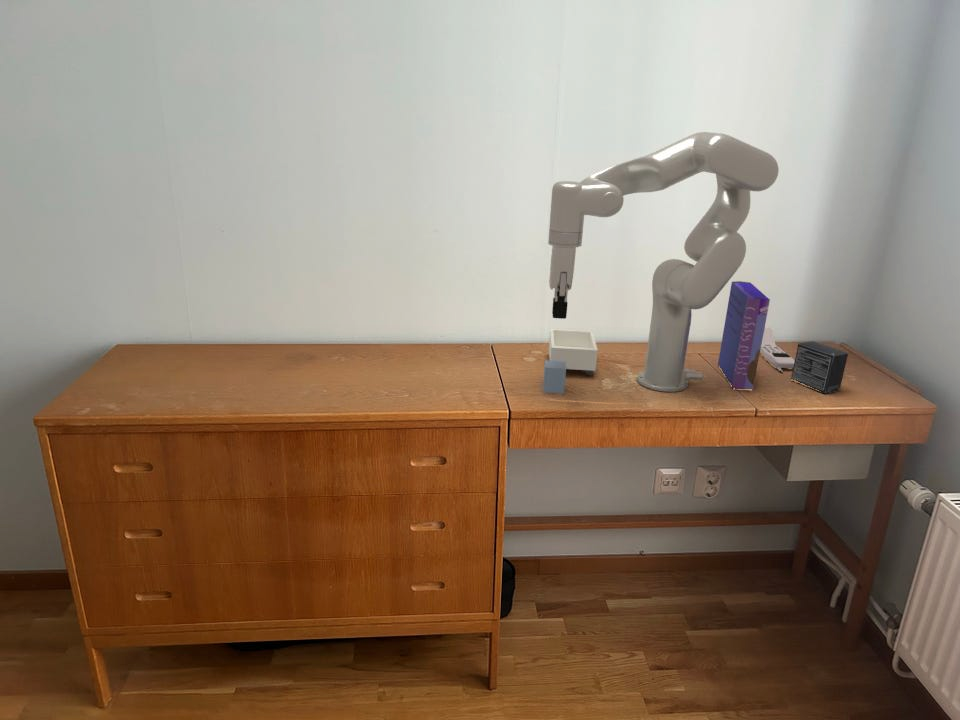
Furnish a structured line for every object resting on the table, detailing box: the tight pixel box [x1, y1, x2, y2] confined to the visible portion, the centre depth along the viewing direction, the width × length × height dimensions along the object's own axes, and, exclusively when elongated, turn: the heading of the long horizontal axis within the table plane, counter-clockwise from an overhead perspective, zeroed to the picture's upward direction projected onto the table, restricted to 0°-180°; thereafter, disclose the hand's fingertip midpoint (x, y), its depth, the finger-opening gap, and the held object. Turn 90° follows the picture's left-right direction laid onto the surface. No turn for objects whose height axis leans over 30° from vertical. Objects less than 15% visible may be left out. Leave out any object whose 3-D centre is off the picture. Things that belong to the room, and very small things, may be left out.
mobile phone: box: [760, 326, 795, 372], centre depth 198 cm, size 6×6×25 cm
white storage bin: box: [548, 328, 599, 376], centre depth 184 cm, size 12×16×7 cm
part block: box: [542, 359, 567, 395], centre depth 169 cm, size 5×5×7 cm
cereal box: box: [717, 280, 771, 390], centre depth 179 cm, size 17×5×24 cm, turn 174°
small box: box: [790, 340, 849, 395], centre depth 178 cm, size 11×6×10 cm, turn 29°
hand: (559, 315), depth 163 cm, fingers closed
